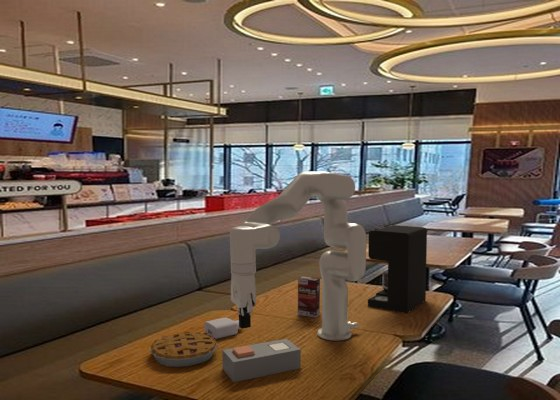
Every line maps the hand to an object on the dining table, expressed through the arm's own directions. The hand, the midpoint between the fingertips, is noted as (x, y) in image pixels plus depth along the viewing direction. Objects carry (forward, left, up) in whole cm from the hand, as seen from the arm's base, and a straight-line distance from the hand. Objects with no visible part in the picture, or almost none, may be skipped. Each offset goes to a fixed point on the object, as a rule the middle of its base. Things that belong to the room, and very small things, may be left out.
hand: (244, 327), depth 139 cm
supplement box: (-44, -40, -14) cm, 61 cm away
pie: (+14, -21, -14) cm, 29 cm away
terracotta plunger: (+1, 0, -13) cm, 13 cm away
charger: (-7, -35, -14) cm, 39 cm away
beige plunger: (-11, 0, -14) cm, 18 cm away
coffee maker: (-91, -38, -14) cm, 100 cm away
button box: (-5, 0, -14) cm, 15 cm away
